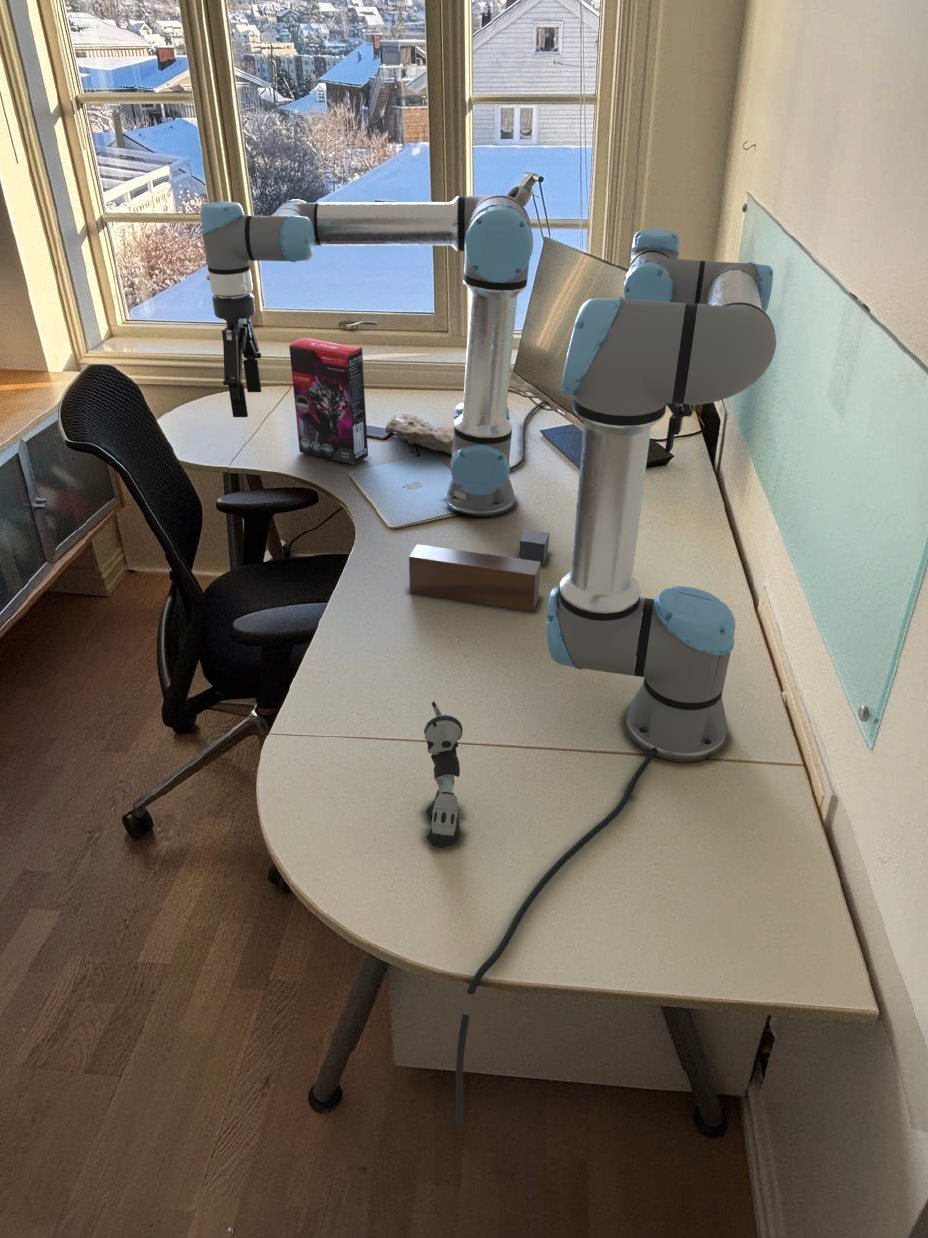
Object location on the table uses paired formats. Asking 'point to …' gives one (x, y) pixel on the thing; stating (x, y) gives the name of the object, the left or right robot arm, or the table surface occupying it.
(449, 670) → the table surface
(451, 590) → the brown rectangular block
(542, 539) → the slate grey block
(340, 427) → the graphics card box
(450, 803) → the robot
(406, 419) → the stone
